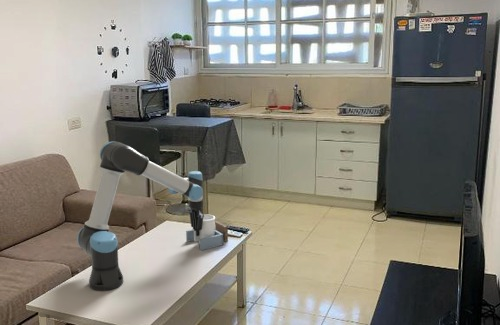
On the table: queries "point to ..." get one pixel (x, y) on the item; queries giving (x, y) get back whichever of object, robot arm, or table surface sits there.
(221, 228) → the block
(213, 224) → the jar
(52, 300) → the table surface
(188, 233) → the grey shallow box
